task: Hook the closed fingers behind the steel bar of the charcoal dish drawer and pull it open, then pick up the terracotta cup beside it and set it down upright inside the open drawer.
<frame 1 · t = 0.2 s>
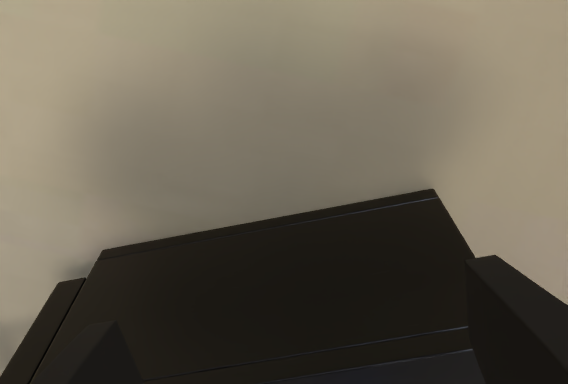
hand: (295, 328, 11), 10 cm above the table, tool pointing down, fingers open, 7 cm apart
cabinet: (294, 338, 24), on the table
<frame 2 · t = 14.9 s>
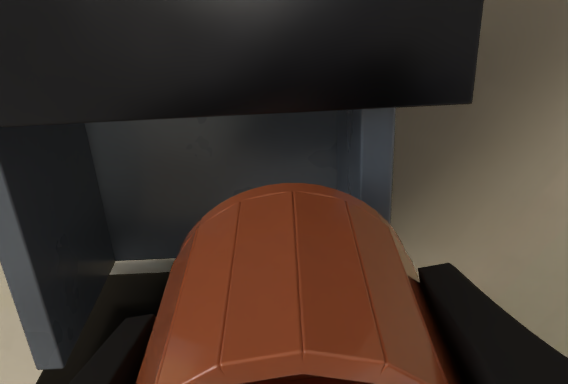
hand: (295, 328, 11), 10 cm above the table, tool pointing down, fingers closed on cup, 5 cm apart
drawer: (216, 259, 17), point 4 cm above the table, slide at 9.0 cm
cup: (291, 287, 12), point 9 cm above the table, touching gripper
when the fingers open (6 cm above the table, at t = 19.6 s): cup stays where it is, resting on drawer.
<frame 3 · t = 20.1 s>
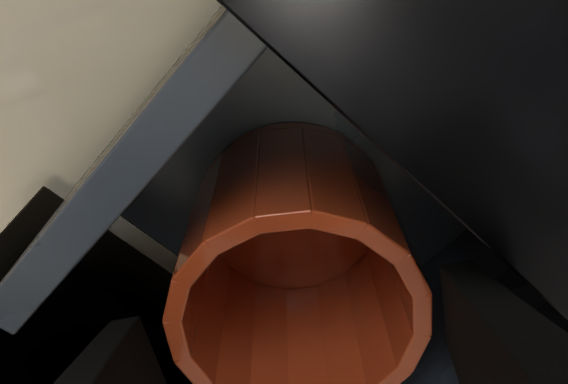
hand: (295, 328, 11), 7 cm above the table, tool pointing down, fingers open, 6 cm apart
drawer: (240, 304, 14), point 4 cm above the table, slide at 8.8 cm, touching cup
cup: (292, 211, 15), point 2 cm above the table, touching drawer
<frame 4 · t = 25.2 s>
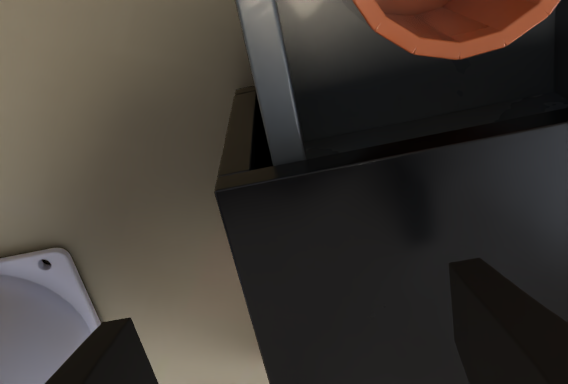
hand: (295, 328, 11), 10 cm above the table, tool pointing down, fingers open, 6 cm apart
cabinet: (423, 217, 22), on the table
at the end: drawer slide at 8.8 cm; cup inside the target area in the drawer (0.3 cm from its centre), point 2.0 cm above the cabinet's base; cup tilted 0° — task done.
